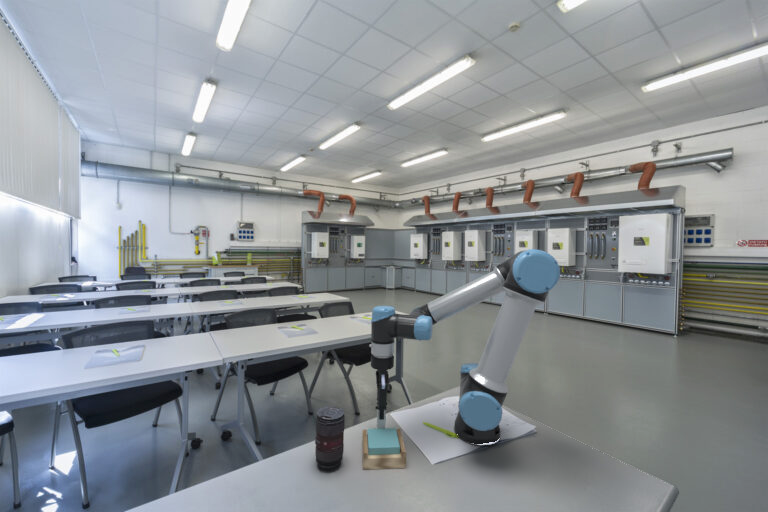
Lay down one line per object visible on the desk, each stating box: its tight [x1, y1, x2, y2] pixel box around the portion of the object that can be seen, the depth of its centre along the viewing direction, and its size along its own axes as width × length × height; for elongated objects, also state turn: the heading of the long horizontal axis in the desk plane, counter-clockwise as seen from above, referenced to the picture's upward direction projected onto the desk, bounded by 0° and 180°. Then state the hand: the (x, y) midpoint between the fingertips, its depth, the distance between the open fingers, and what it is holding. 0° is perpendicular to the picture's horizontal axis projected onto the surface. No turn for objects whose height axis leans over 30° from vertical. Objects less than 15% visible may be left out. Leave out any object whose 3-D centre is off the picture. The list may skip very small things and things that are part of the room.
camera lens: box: [314, 405, 346, 473], centre depth 90 cm, size 8×8×15 cm
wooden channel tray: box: [361, 428, 407, 470], centre depth 94 cm, size 12×12×4 cm
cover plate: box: [366, 427, 400, 455], centre depth 95 cm, size 9×10×2 cm
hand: (381, 427), depth 102 cm, fingers closed
